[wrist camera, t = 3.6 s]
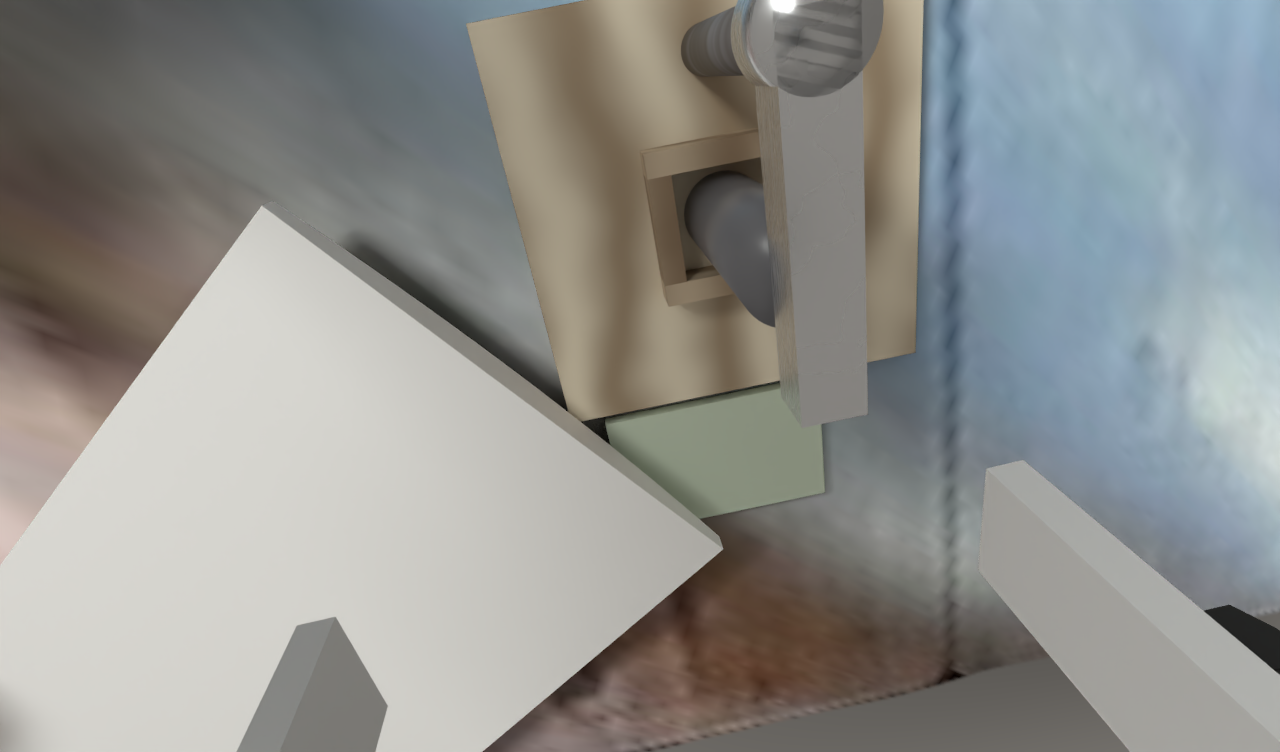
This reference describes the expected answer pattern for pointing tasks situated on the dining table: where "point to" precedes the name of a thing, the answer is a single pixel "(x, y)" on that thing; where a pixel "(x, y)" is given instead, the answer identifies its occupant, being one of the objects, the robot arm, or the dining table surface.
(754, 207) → the peg
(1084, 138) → the dining table surface
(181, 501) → the board
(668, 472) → the pad
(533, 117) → the socket plate
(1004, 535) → the robot arm
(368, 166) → the dining table surface
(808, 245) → the latch
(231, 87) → the dining table surface
